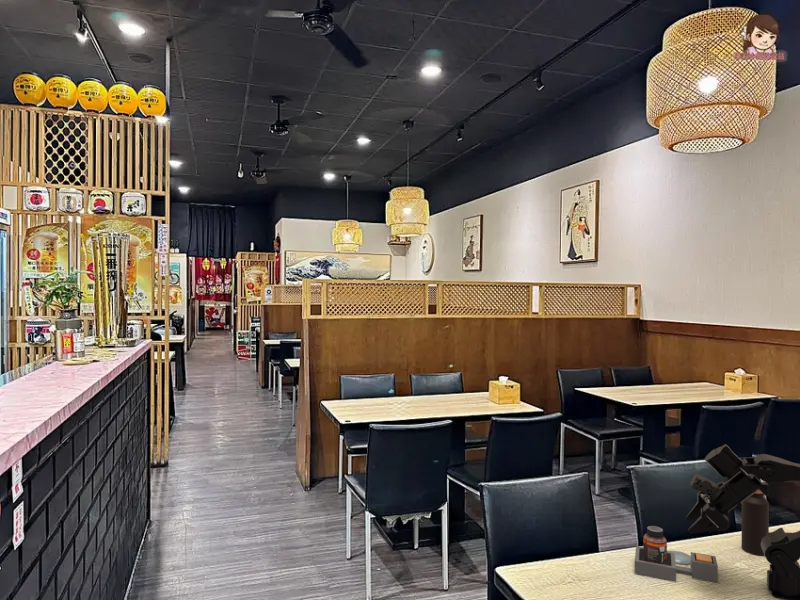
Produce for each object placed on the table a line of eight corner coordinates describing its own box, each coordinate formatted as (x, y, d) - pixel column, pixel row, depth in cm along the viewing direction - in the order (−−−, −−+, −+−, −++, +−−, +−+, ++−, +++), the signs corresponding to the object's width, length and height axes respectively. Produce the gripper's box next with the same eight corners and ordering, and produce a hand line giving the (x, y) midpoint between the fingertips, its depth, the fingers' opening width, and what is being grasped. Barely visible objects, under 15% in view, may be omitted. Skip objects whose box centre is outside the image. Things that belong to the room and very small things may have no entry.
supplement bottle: (669, 576, 149) (669, 534, 149) (646, 573, 150) (646, 532, 150) (663, 565, 155) (663, 525, 155) (641, 563, 156) (641, 523, 156)
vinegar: (763, 558, 159) (764, 489, 159) (737, 550, 164) (738, 483, 164) (772, 551, 163) (772, 484, 163) (746, 543, 169) (746, 478, 169)
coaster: (692, 555, 161) (692, 553, 161) (694, 567, 154) (694, 565, 154) (662, 549, 164) (662, 548, 164) (662, 561, 157) (662, 560, 157)
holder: (715, 572, 151) (715, 556, 151) (719, 590, 142) (719, 572, 142) (635, 558, 159) (635, 542, 159) (634, 573, 150) (634, 557, 150)
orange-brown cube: (710, 570, 150) (710, 555, 150) (712, 576, 147) (712, 561, 147) (695, 567, 152) (695, 553, 152) (696, 573, 148) (696, 558, 148)
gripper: (707, 457, 155) (664, 490, 160) (714, 476, 138) (665, 513, 143) (740, 489, 152) (694, 522, 157) (751, 512, 135) (699, 549, 140)
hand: (688, 525), depth 149 cm, fingers open, 9 cm apart
